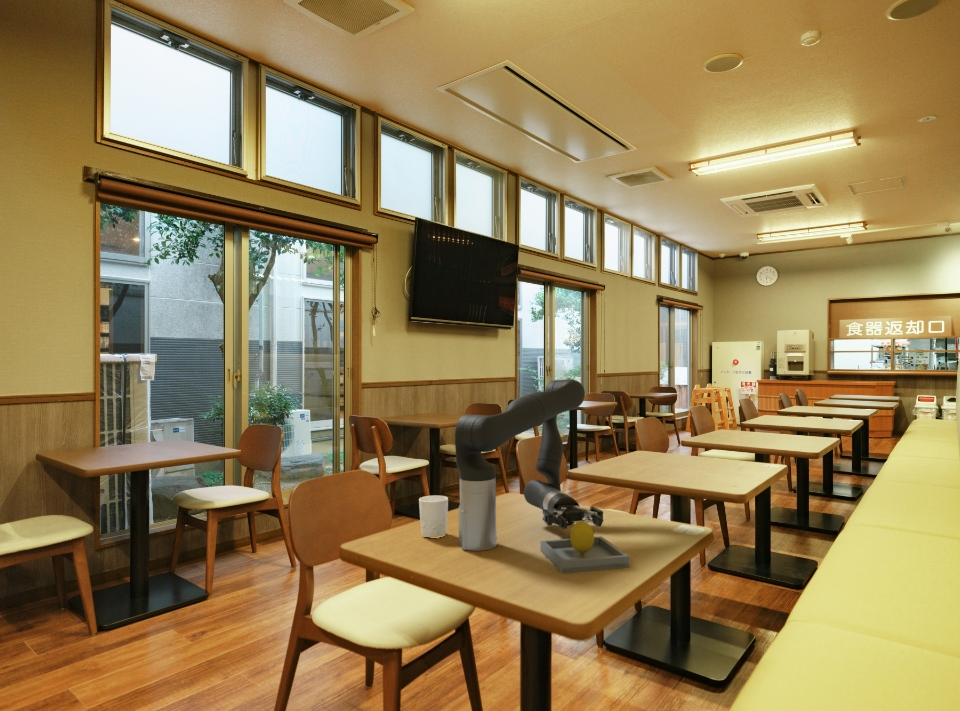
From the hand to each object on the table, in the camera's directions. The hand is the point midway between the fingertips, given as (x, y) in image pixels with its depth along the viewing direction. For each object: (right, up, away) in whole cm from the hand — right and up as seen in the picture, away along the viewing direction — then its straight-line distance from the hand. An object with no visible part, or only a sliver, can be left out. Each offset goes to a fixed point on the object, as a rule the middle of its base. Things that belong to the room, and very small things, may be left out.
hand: (582, 523), depth 139 cm
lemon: (0, -8, +1) cm, 8 cm away
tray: (0, -8, 0) cm, 8 cm away
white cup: (-37, -10, +22) cm, 44 cm away
